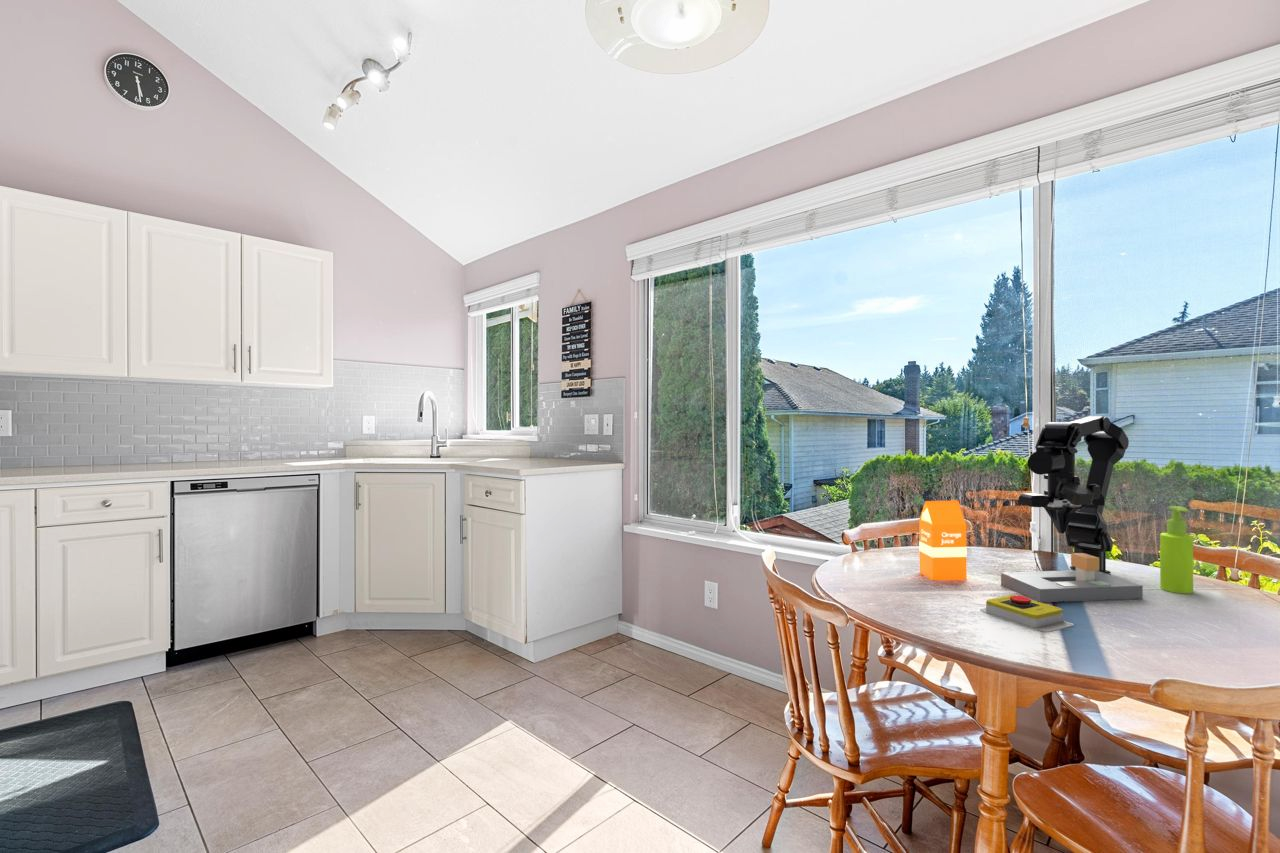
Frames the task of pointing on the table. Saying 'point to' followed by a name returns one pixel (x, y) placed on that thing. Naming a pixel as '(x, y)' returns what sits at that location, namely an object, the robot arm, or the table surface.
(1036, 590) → the breaker box
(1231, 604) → the table surface
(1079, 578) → the lever
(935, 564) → the orange juice
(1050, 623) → the emergency button
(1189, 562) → the soap dispenser
